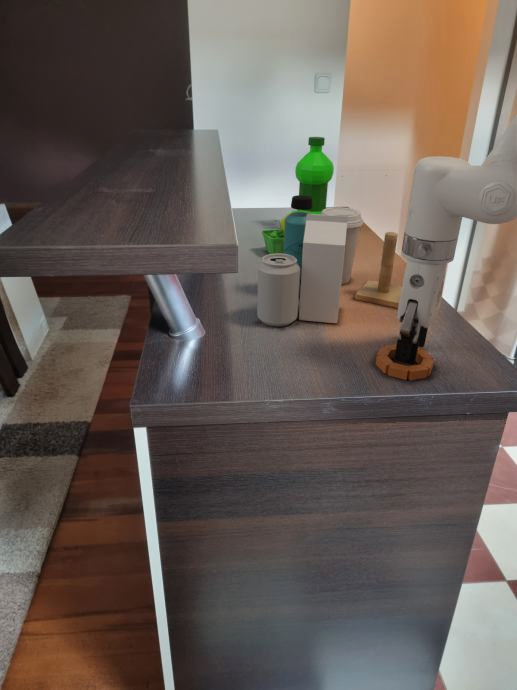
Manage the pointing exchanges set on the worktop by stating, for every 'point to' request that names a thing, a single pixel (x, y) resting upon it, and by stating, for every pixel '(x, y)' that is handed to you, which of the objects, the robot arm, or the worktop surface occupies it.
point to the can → (278, 289)
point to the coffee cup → (348, 236)
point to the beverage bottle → (296, 229)
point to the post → (383, 278)
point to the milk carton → (322, 267)
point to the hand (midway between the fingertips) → (409, 352)
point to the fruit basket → (275, 238)
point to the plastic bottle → (315, 175)
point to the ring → (402, 370)
